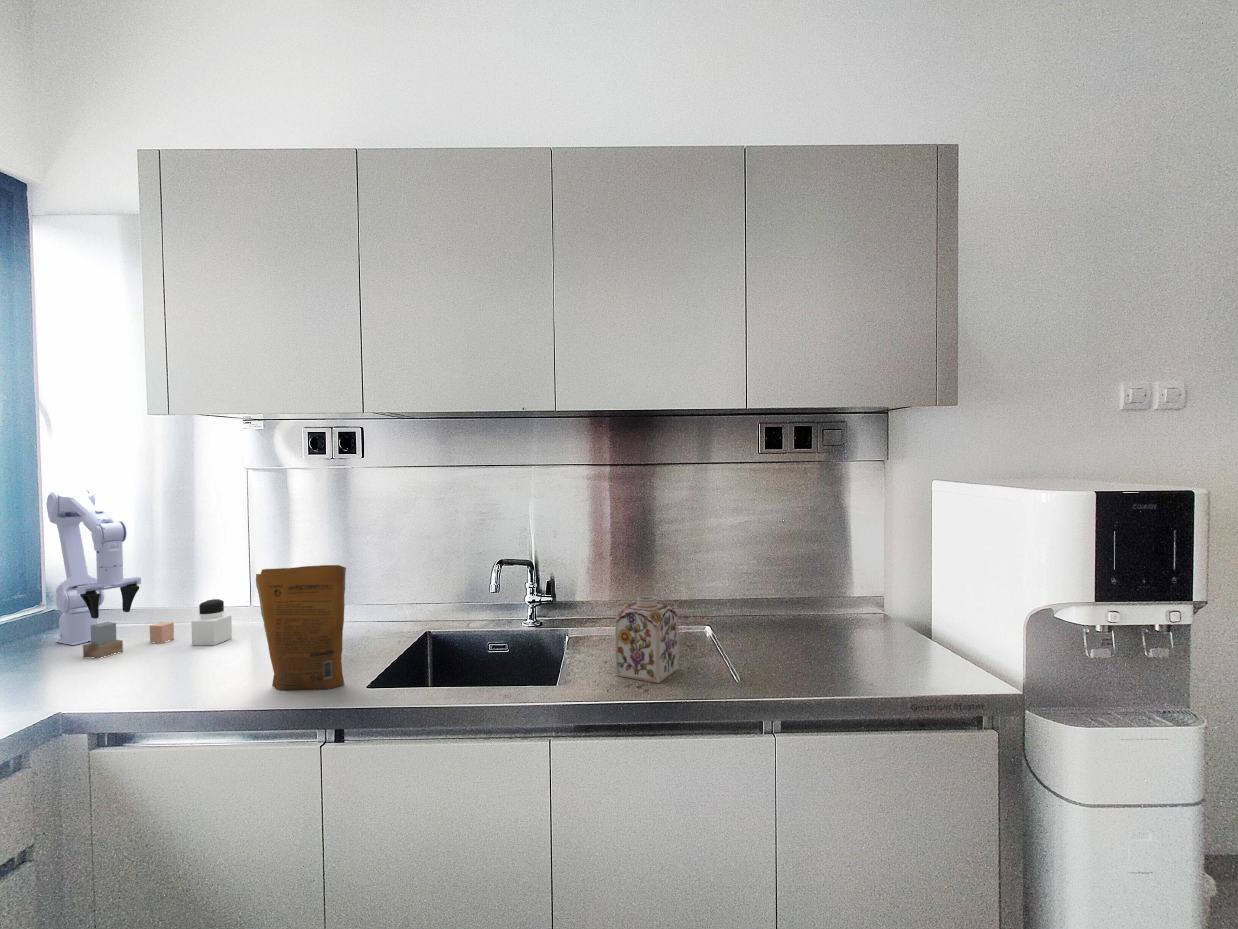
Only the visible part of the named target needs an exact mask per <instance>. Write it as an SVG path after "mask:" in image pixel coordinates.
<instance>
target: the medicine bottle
mask: <svg viewBox="0 0 1238 929" xmlns="http://www.w3.org/2000/svg"><path fill="white" fill-rule="evenodd" d="M224 605H225V604H224V600H222V599H218V598H217V599H216V598H215V599H214V598H212V599H207V600H203V601H201V602H199V603H198V616H199V617H198V618H197V617H196V618H195V619H191V624H190V625H191V645H192V646H217V645H219V643H220V644H223V642H224V641H225V642H227V641H230V640H232V638H233V637H232V636H233V634H232V633H233V632H232V631H233V630H232V629H233V628H232V626H233V625H232V615H231V614H224V613H225V609H224V608H225V606H224ZM226 640H227V641H226ZM225 642H224V643H225Z"/></svg>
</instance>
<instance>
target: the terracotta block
mask: <svg viewBox="0 0 1238 929" xmlns="http://www.w3.org/2000/svg"><path fill="white" fill-rule="evenodd" d="M174 624H175V623H174V622H167V621H166V622H163V621H162V622H158V623H155V624H151V625H149V643H150V642H155V643H154V644H164V643H163V642H165V641H168V640H171V639H174V640H175V633H174V632H175V630H174V626H175V625H174ZM171 641H172V640H171ZM168 642H169V641H168ZM165 643H166V642H165Z"/></svg>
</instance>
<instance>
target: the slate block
mask: <svg viewBox="0 0 1238 929" xmlns="http://www.w3.org/2000/svg"><path fill="white" fill-rule="evenodd" d="M116 640H117V623H116V622H111V621H106V622H101V623H97V624H95V625H91V641H90V642H91V644H95V645H103V644H108V643H112V642H116Z"/></svg>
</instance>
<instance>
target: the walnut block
mask: <svg viewBox="0 0 1238 929" xmlns="http://www.w3.org/2000/svg"><path fill="white" fill-rule="evenodd" d="M123 644H124V643H123V640H121V639H116V642H112V643H108V644H103V645H95V644H91V643H90V642H88V643H86V644H83V645H82V654H83V655H82V657H83V658H86V657H94V658H93V659H97V658H101V657H104V656H108V655H111V654H114V653H118V652H121V653H123V651H124V645H123ZM118 654H119V653H118ZM111 656H112V655H111ZM108 657H109V656H108ZM104 658H105V657H104ZM101 659H102V658H101Z"/></svg>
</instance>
